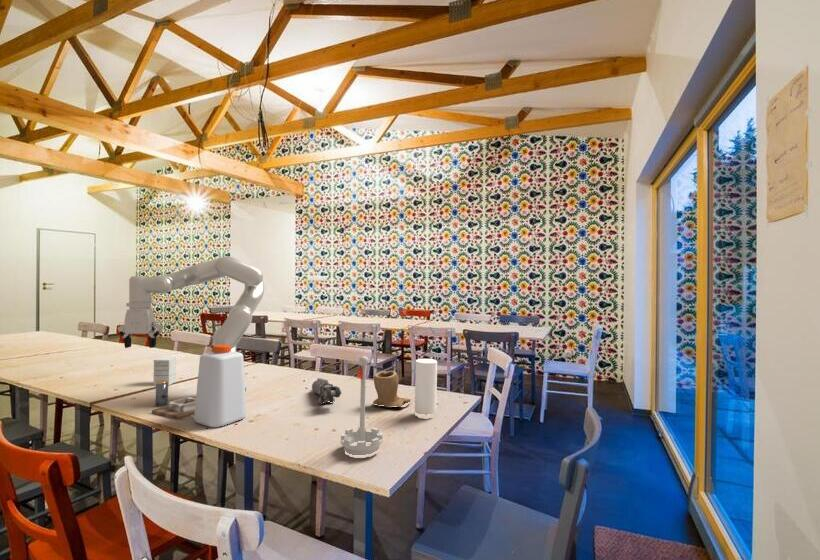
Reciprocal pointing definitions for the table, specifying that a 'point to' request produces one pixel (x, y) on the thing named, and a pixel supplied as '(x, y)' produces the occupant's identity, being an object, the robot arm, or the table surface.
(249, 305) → the robot arm
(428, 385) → the tall white tube
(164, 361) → the supplement box
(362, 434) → the flag stand
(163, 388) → the gold topped cylinder
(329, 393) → the grey lumpy piece
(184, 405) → the docking plate
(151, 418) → the table surface
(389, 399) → the stone cup
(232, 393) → the plastic bottle
